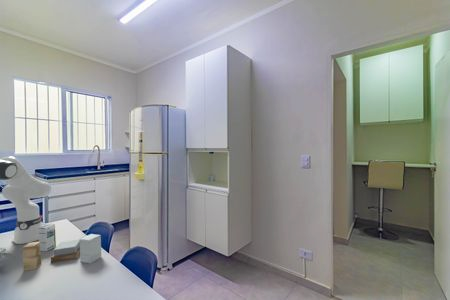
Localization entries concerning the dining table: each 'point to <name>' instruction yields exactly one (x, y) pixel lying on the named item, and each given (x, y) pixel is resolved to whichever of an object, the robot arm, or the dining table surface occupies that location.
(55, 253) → the tower top slab
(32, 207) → the robot arm
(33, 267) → the oak block
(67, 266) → the dining table surface
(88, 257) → the supplement box
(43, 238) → the syrup box
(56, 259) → the tower base slab
